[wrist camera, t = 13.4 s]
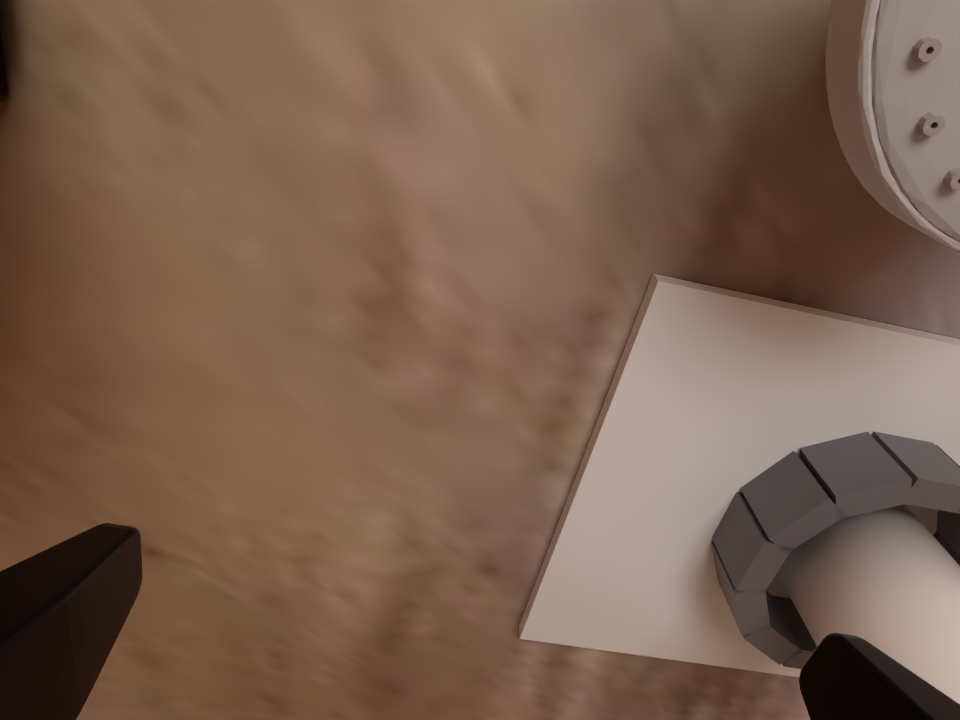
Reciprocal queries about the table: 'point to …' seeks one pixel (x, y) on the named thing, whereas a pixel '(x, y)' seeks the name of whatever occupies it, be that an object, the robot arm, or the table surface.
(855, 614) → the canister
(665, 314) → the socket
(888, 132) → the showerhead
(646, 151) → the table surface
